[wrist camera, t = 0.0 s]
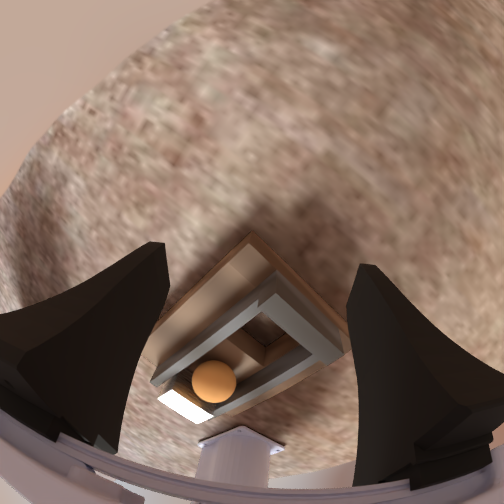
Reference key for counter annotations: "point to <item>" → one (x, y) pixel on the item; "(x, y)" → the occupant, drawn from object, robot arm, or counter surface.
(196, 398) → the plunger
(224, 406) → the launcher
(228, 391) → the ball
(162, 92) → the counter surface
